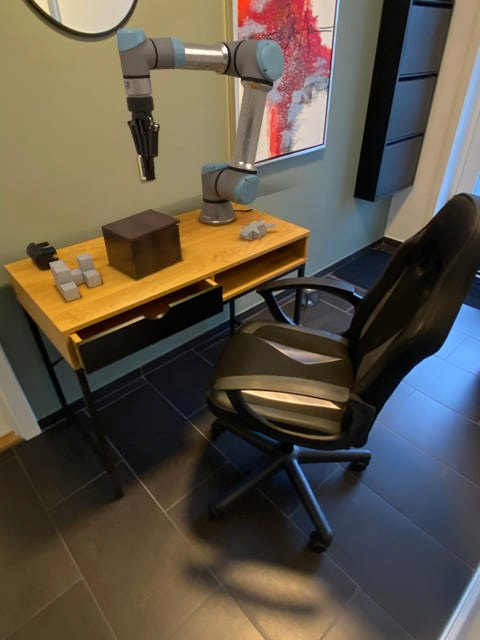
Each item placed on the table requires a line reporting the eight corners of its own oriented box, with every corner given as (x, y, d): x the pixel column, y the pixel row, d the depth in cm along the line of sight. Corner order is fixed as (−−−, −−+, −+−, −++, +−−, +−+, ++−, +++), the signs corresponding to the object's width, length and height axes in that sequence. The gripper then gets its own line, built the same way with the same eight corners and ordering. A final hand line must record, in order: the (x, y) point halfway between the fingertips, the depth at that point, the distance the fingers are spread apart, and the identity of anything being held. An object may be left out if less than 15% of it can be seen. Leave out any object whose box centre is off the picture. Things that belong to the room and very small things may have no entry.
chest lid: (150, 211, 140) (150, 208, 140) (180, 222, 131) (179, 219, 131) (101, 228, 129) (100, 226, 128) (130, 242, 120) (129, 239, 119)
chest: (153, 247, 148) (149, 213, 140) (182, 260, 139) (178, 224, 131) (109, 264, 136) (101, 229, 129) (136, 280, 127) (130, 242, 120)
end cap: (29, 262, 138) (23, 244, 134) (50, 256, 142) (45, 238, 138) (39, 272, 132) (33, 254, 128) (61, 266, 136) (55, 247, 132)
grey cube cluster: (67, 301, 117) (60, 278, 112) (55, 285, 125) (48, 262, 120) (106, 289, 122) (101, 266, 118) (93, 274, 130) (87, 252, 126)
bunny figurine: (233, 227, 153) (261, 213, 160) (235, 239, 156) (261, 225, 163) (251, 234, 147) (278, 219, 154) (251, 246, 150) (278, 231, 158)
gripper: (115, 95, 115) (129, 178, 128) (142, 98, 107) (154, 186, 121) (136, 93, 119) (147, 173, 133) (164, 95, 112) (173, 180, 125)
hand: (150, 179), depth 127 cm, fingers closed
